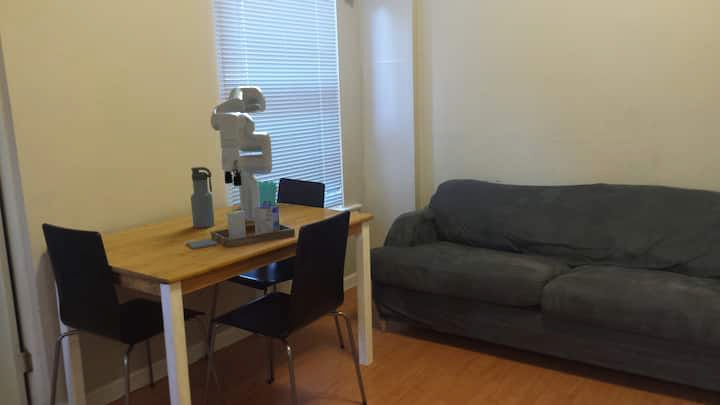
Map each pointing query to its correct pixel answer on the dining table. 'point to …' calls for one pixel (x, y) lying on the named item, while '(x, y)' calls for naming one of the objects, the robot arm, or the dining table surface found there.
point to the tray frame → (221, 234)
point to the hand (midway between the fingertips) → (233, 184)
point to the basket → (267, 192)
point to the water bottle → (202, 199)
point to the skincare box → (236, 224)
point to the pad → (201, 244)
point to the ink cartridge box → (266, 218)
